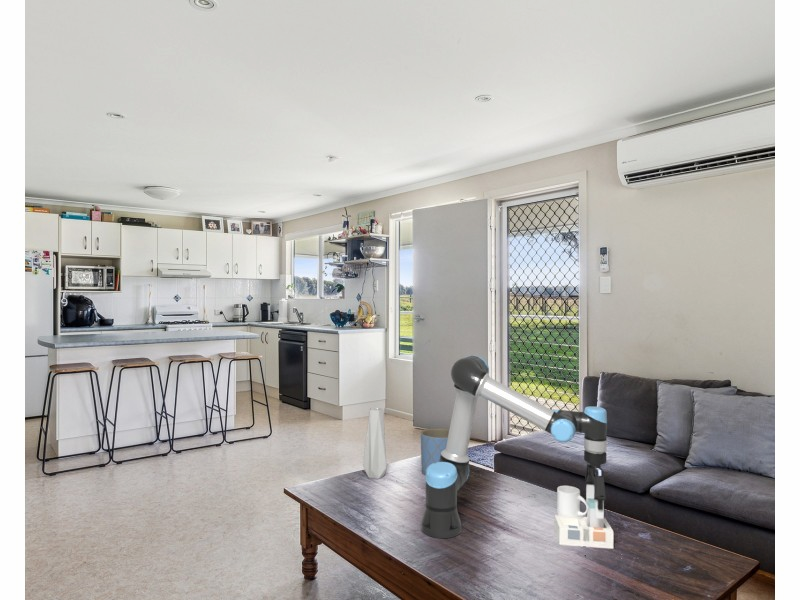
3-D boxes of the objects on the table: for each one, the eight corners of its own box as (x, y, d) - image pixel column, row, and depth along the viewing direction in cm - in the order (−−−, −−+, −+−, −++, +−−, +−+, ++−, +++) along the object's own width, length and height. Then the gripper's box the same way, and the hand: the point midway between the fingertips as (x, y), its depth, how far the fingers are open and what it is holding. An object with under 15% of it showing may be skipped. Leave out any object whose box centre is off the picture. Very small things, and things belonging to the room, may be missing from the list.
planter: (418, 477, 244) (418, 436, 244) (422, 465, 262) (423, 427, 263) (457, 480, 241) (457, 438, 241) (459, 467, 259) (459, 429, 260)
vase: (379, 482, 237) (379, 412, 237) (359, 477, 243) (360, 409, 244) (393, 475, 247) (393, 408, 247) (374, 471, 253) (374, 405, 254)
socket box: (559, 545, 176) (559, 527, 176) (554, 530, 187) (554, 514, 187) (613, 549, 173) (613, 531, 173) (605, 534, 184) (605, 517, 184)
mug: (582, 525, 192) (582, 497, 192) (553, 516, 200) (553, 489, 200) (591, 518, 198) (591, 491, 198) (563, 510, 206) (563, 483, 206)
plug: (590, 537, 178) (590, 503, 178) (587, 531, 182) (587, 498, 182) (603, 538, 177) (603, 504, 177) (600, 532, 181) (600, 499, 182)
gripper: (616, 462, 167) (615, 525, 167) (597, 441, 192) (596, 497, 191) (592, 460, 168) (591, 524, 168) (577, 440, 193) (576, 496, 193)
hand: (594, 510), depth 180 cm, fingers open, 13 cm apart
